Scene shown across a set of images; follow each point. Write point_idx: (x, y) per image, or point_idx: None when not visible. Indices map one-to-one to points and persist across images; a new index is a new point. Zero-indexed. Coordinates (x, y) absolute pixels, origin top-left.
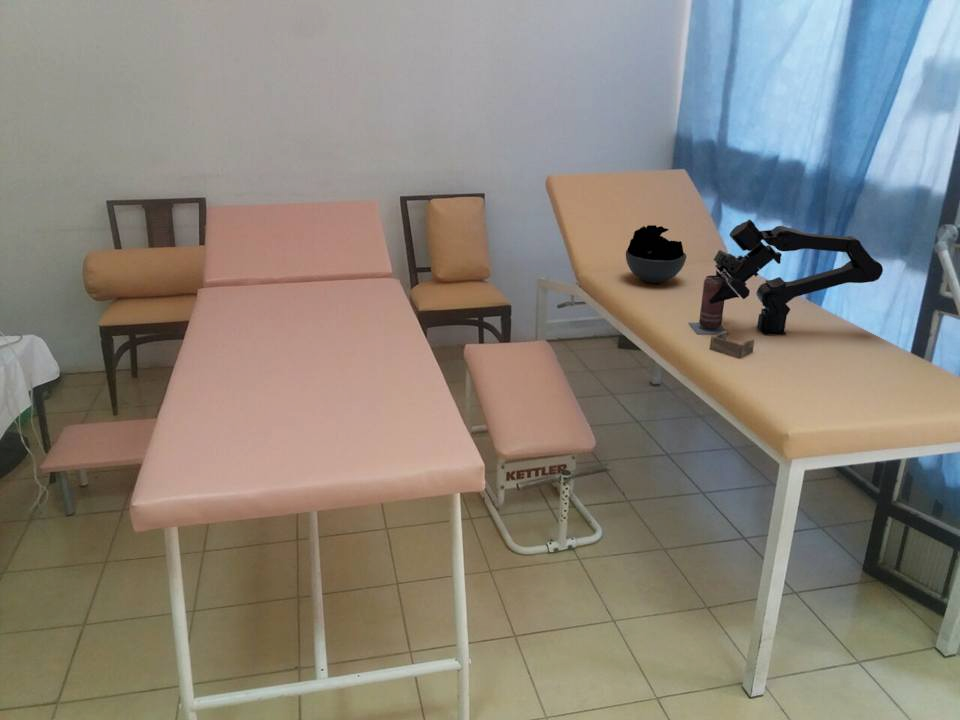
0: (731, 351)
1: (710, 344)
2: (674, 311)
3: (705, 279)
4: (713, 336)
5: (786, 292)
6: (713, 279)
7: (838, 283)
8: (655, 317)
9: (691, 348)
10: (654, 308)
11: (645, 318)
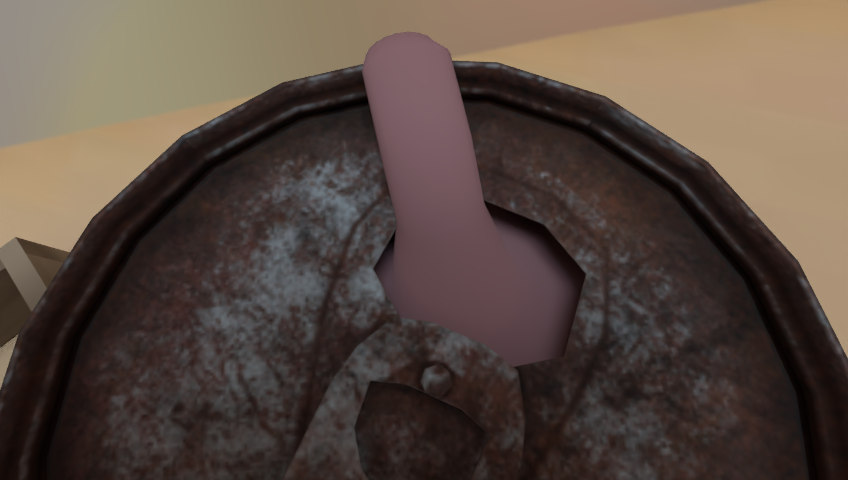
0: None
1: (64, 252)
2: (795, 229)
3: (382, 47)
4: (15, 254)
5: None
6: (400, 324)
7: None
8: (643, 85)
9: (122, 160)
10: (831, 114)
11: (616, 29)
